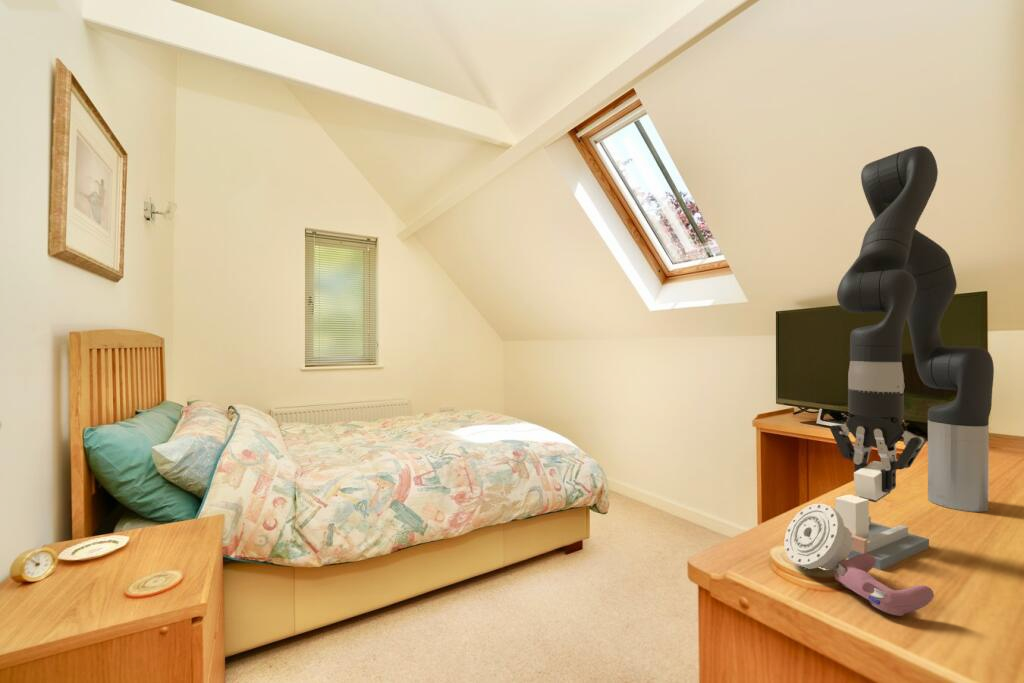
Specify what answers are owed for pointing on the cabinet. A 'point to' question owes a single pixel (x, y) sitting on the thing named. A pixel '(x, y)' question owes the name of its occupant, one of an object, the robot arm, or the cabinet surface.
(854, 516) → the rail mount
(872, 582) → the pink curved lobed piece
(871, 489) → the cream block
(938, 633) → the cabinet surface
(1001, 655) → the cabinet surface
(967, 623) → the cabinet surface
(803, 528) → the mechanical component
